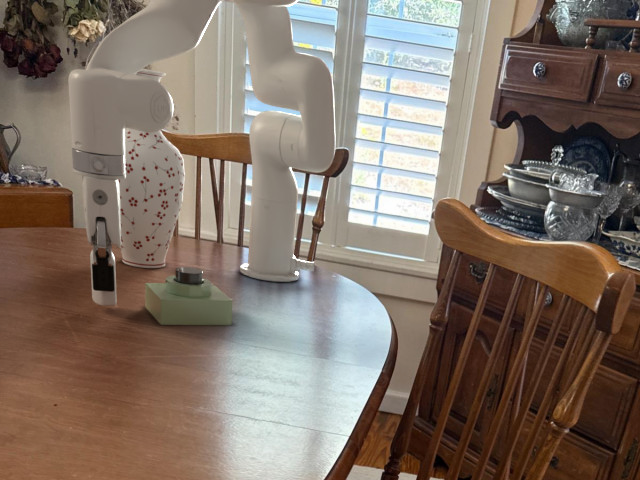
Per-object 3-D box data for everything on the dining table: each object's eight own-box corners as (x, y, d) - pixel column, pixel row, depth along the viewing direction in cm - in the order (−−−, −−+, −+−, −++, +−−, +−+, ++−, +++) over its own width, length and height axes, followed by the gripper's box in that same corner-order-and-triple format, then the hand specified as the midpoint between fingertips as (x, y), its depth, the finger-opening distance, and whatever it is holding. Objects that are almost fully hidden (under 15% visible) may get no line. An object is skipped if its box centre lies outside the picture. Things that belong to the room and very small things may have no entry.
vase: (172, 277, 154) (173, 75, 136) (90, 264, 153) (81, 59, 135) (192, 261, 168) (195, 77, 150) (117, 250, 167) (112, 62, 149)
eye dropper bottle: (121, 299, 130) (119, 224, 124) (114, 308, 125) (112, 230, 119) (94, 296, 129) (91, 220, 123) (86, 304, 125) (82, 226, 119)
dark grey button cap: (197, 280, 132) (198, 267, 131) (205, 287, 129) (206, 274, 128) (172, 279, 130) (172, 266, 129) (179, 286, 127) (179, 273, 126)
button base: (213, 308, 139) (214, 274, 136) (231, 325, 132) (233, 289, 129) (145, 307, 133) (144, 271, 130) (160, 324, 126) (160, 287, 123)
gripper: (126, 176, 111) (129, 301, 120) (124, 160, 125) (127, 274, 134) (70, 169, 109) (77, 297, 118) (74, 154, 123) (80, 270, 132)
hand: (103, 284), depth 126 cm, fingers closed on eye dropper bottle, 5 cm apart
